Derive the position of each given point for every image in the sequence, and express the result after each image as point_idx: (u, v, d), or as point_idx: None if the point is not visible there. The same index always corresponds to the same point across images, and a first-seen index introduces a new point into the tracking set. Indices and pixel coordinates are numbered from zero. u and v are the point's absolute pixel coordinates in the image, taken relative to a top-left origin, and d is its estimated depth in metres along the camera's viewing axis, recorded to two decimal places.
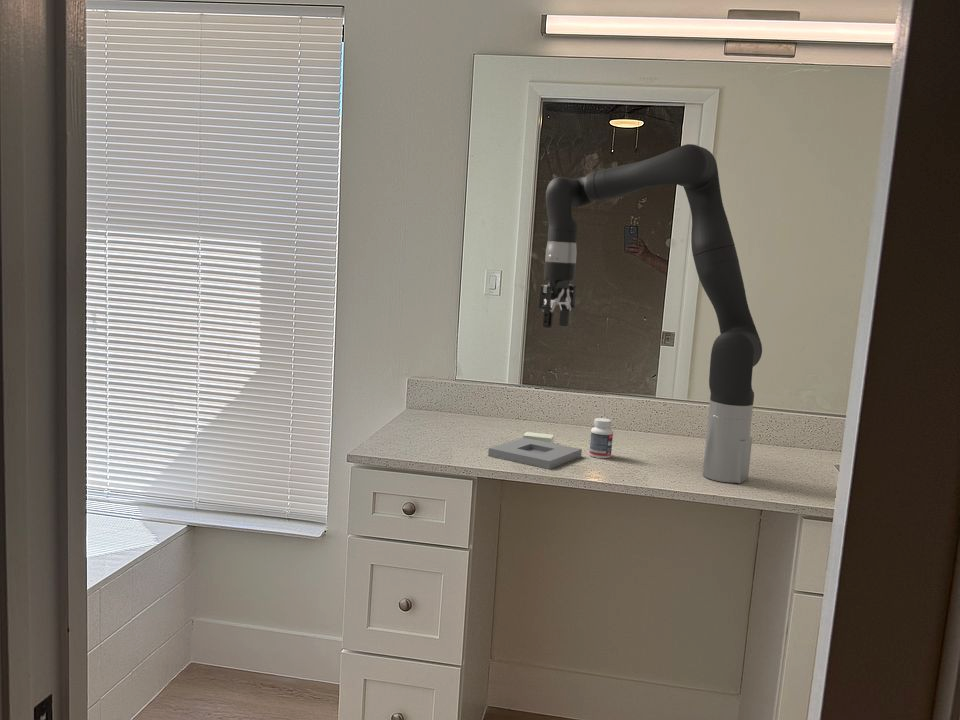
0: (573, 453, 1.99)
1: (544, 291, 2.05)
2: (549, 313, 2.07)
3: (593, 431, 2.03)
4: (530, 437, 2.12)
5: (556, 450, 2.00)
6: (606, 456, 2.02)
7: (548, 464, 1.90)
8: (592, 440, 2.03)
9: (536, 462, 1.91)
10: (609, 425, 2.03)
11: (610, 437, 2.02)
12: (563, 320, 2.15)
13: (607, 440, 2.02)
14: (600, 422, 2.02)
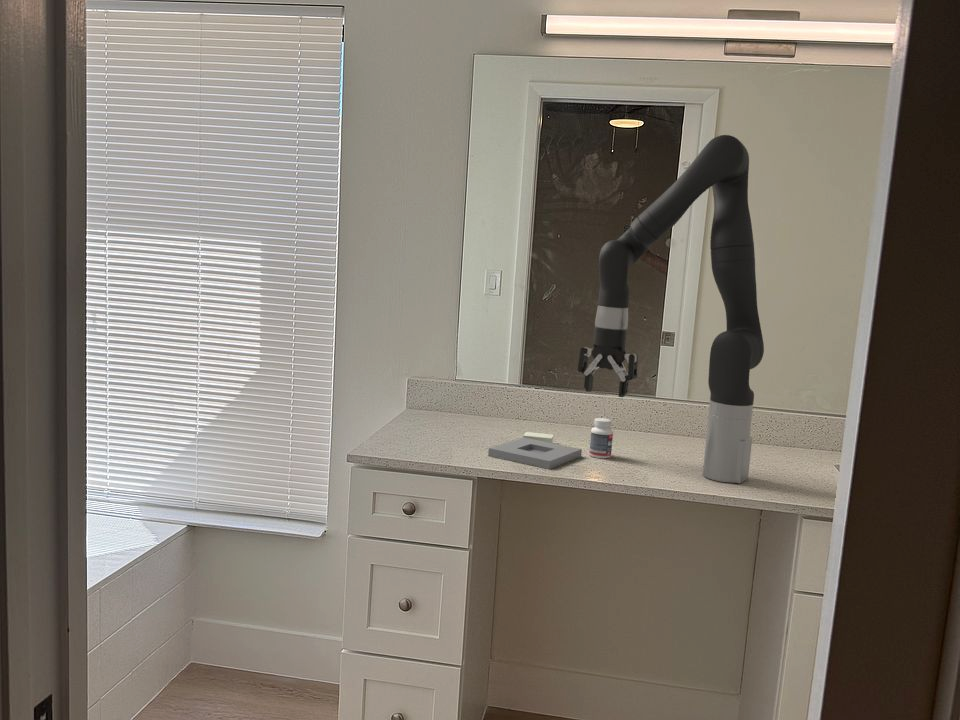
0: (573, 453, 1.99)
1: (635, 361, 1.98)
2: None
3: (593, 431, 2.03)
4: (530, 437, 2.12)
5: (556, 450, 2.00)
6: (606, 456, 2.02)
7: (548, 464, 1.90)
8: (592, 440, 2.03)
9: (536, 462, 1.91)
10: (609, 425, 2.03)
11: (610, 437, 2.02)
12: (590, 385, 2.05)
13: (607, 440, 2.02)
14: (600, 422, 2.02)
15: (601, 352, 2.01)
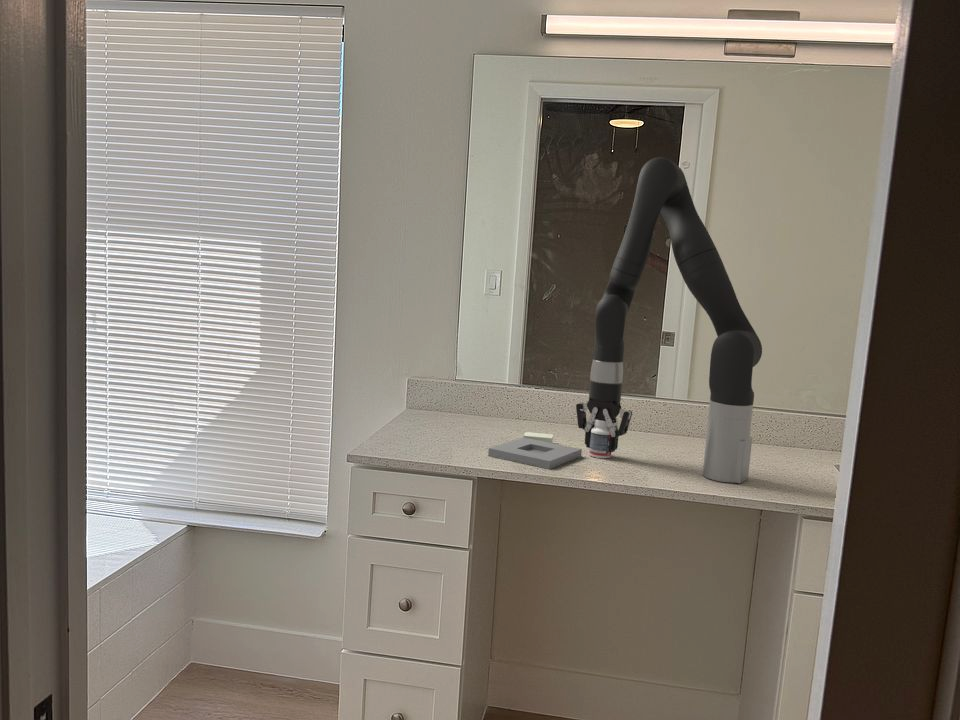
0: (573, 453, 1.99)
1: (628, 418, 2.00)
2: None
3: (593, 431, 2.03)
4: (531, 437, 2.12)
5: (556, 450, 2.00)
6: (606, 456, 2.02)
7: (548, 464, 1.90)
8: (592, 440, 2.03)
9: (536, 462, 1.91)
10: None
11: None
12: None
13: (607, 440, 2.02)
14: (600, 422, 2.02)
15: (596, 405, 2.03)
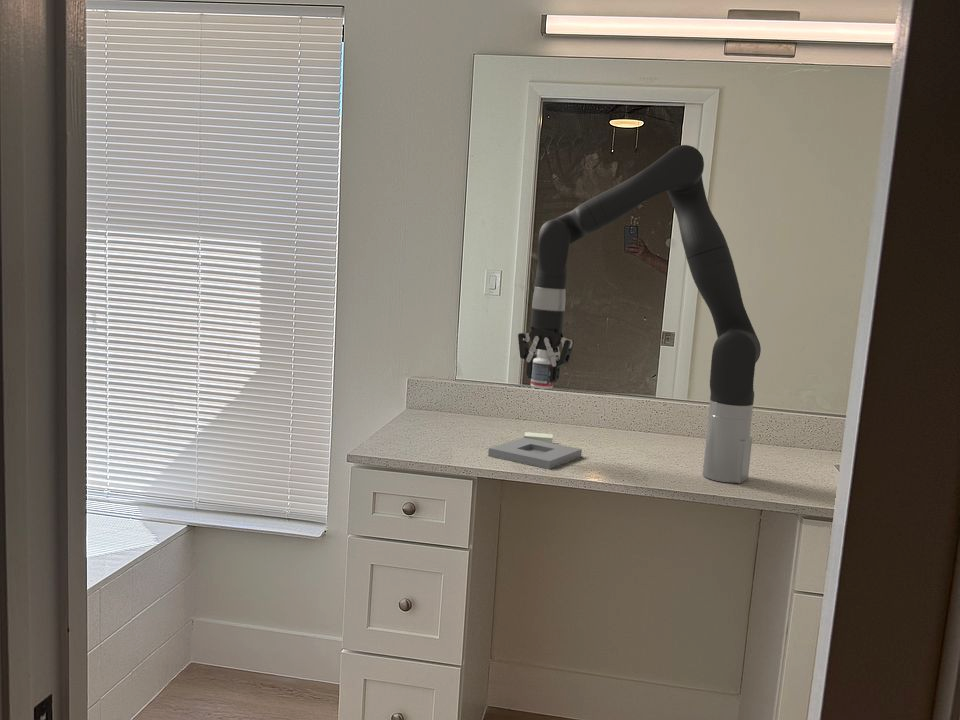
0: (573, 453, 1.99)
1: (569, 347, 1.94)
2: None
3: (534, 360, 1.97)
4: (531, 437, 2.12)
5: (556, 450, 2.00)
6: (547, 386, 1.97)
7: (548, 464, 1.90)
8: (533, 370, 1.98)
9: (536, 462, 1.91)
10: None
11: None
12: None
13: (548, 370, 1.96)
14: (541, 351, 1.96)
15: (538, 334, 1.97)
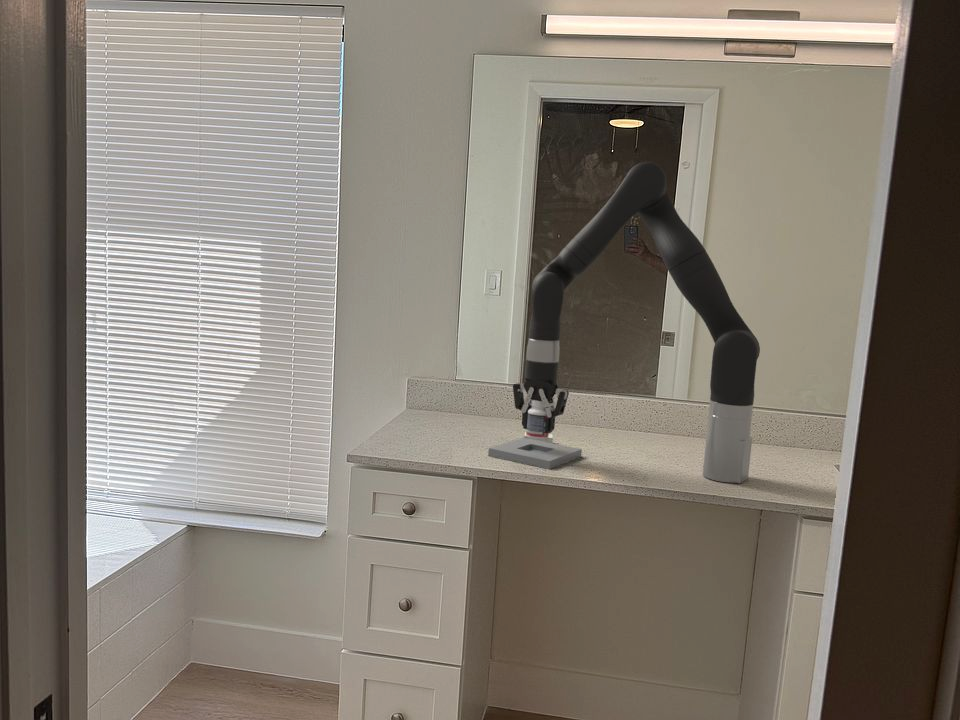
0: (573, 453, 1.99)
1: (564, 398, 1.95)
2: None
3: (529, 411, 1.98)
4: None
5: (556, 450, 2.00)
6: (543, 437, 1.98)
7: (548, 464, 1.90)
8: (528, 421, 1.98)
9: (536, 462, 1.91)
10: None
11: None
12: None
13: (543, 421, 1.97)
14: (536, 402, 1.97)
15: (533, 385, 1.98)
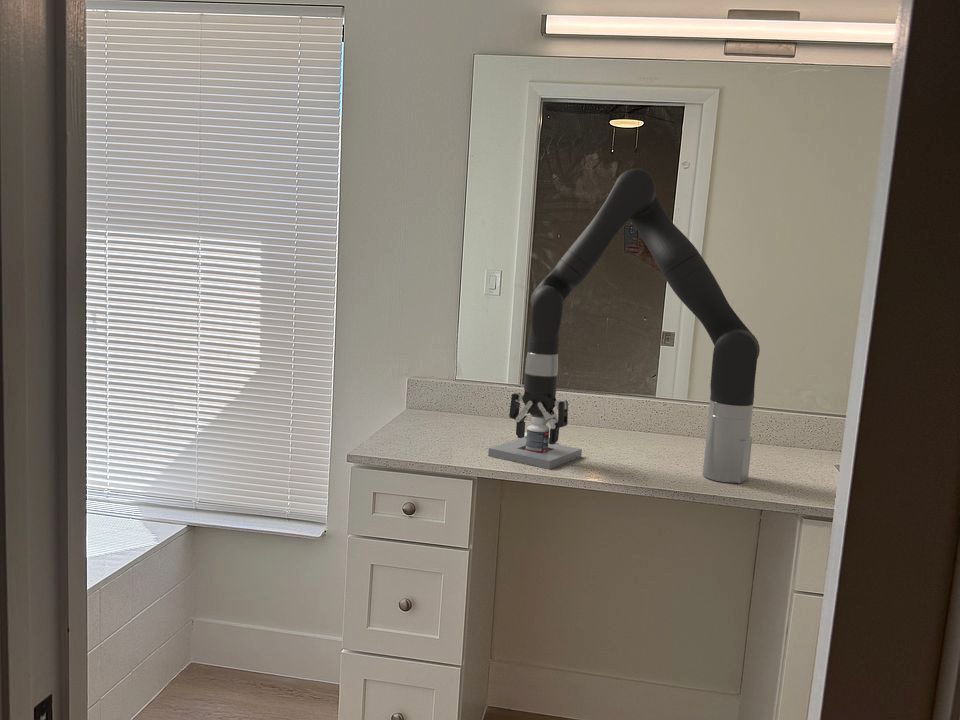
0: (573, 453, 1.99)
1: (565, 408, 1.95)
2: None
3: (529, 428, 1.99)
4: None
5: (556, 450, 2.00)
6: None
7: (548, 464, 1.90)
8: (528, 437, 1.99)
9: (536, 462, 1.91)
10: (545, 422, 1.98)
11: (546, 434, 1.98)
12: (522, 432, 2.02)
13: (543, 437, 1.98)
14: (536, 419, 1.98)
15: (531, 399, 1.99)
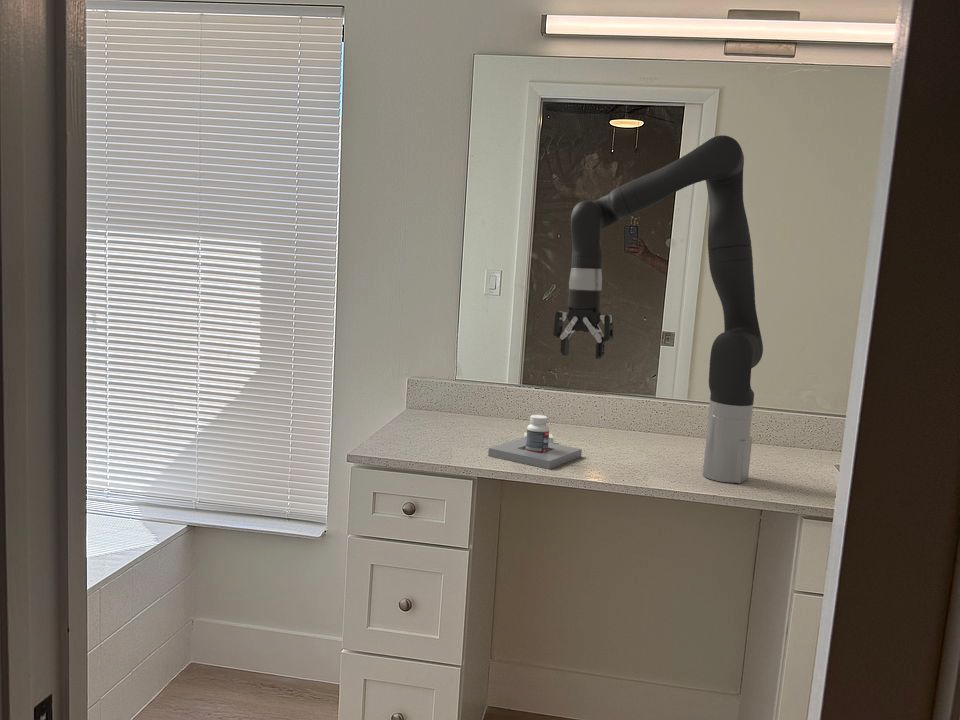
0: (573, 453, 1.99)
1: (610, 321, 1.97)
2: None
3: (529, 428, 1.99)
4: None
5: (556, 450, 2.00)
6: None
7: (548, 464, 1.90)
8: (528, 437, 1.99)
9: (536, 462, 1.91)
10: (545, 422, 1.98)
11: (546, 434, 1.98)
12: (567, 349, 2.03)
13: (543, 437, 1.98)
14: (535, 419, 1.98)
15: (576, 315, 2.00)
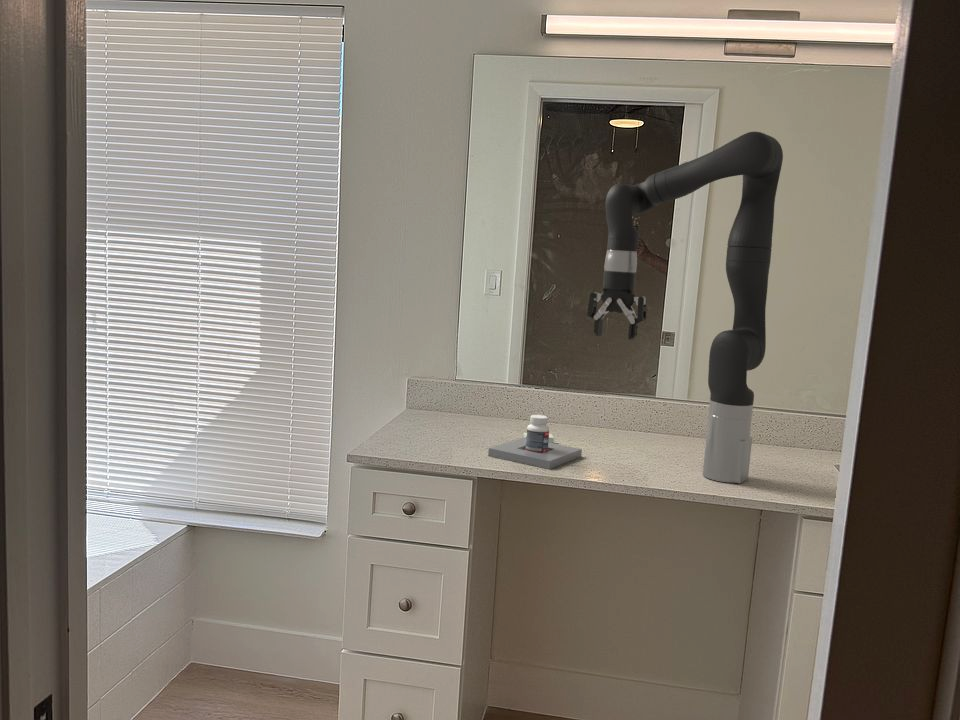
0: (573, 453, 1.99)
1: (644, 303, 2.01)
2: None
3: (529, 428, 1.99)
4: None
5: (556, 450, 2.00)
6: None
7: (548, 464, 1.90)
8: (528, 437, 1.99)
9: (536, 462, 1.91)
10: (545, 422, 1.98)
11: (546, 434, 1.98)
12: (600, 330, 2.08)
13: (543, 437, 1.98)
14: (536, 419, 1.98)
15: (610, 296, 2.04)
